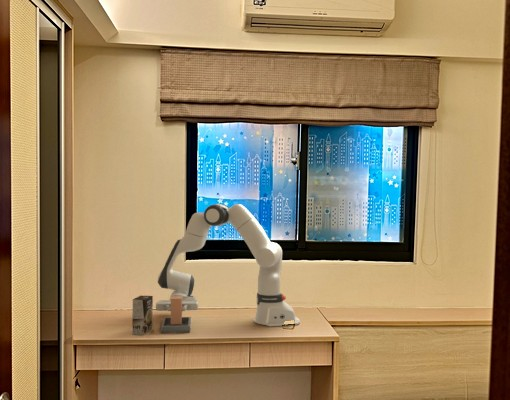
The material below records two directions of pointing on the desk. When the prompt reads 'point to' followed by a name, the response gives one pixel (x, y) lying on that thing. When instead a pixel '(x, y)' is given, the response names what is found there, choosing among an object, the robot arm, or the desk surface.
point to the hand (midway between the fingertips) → (176, 309)
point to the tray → (176, 326)
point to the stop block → (176, 310)
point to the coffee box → (142, 315)
